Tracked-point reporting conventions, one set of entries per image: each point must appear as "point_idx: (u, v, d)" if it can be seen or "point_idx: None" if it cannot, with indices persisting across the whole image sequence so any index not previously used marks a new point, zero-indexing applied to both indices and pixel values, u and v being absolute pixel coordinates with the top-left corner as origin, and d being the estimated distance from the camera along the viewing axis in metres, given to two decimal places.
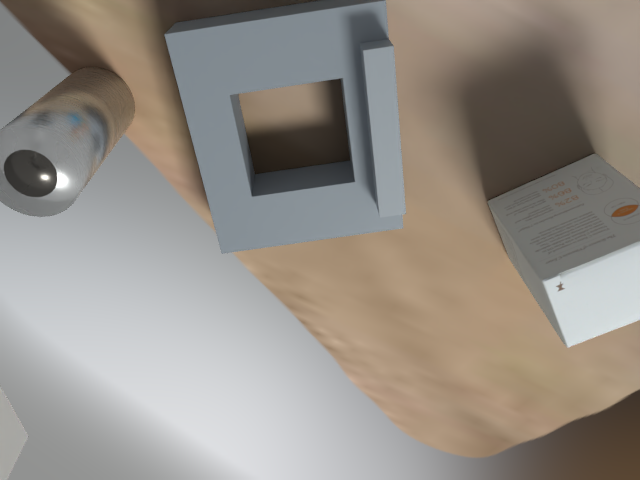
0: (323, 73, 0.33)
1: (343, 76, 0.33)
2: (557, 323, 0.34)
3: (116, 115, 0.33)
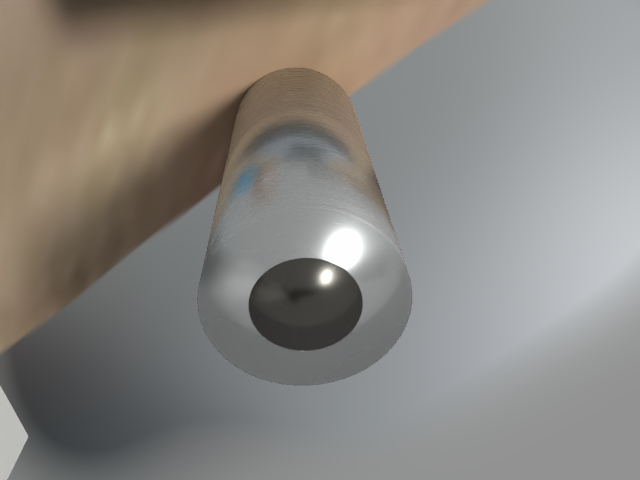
0: None
1: None
2: None
3: (282, 101, 0.17)
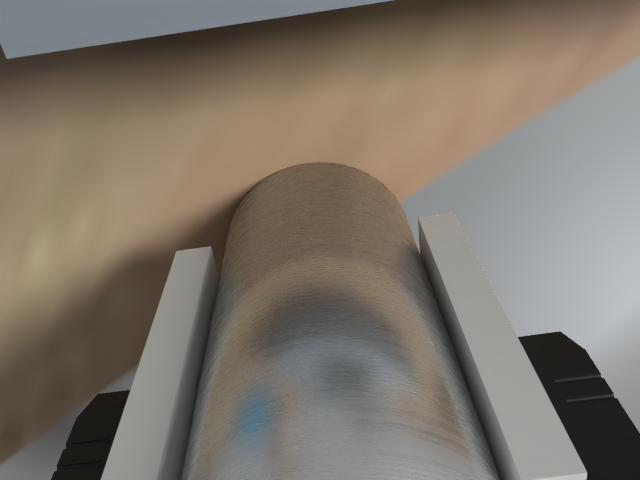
0: None
1: None
2: None
3: (303, 251, 0.10)
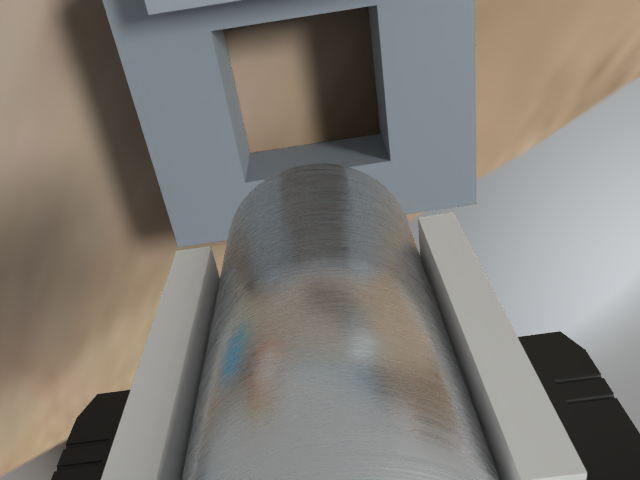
0: (206, 59, 0.23)
1: (207, 29, 0.23)
2: None
3: (303, 252, 0.10)
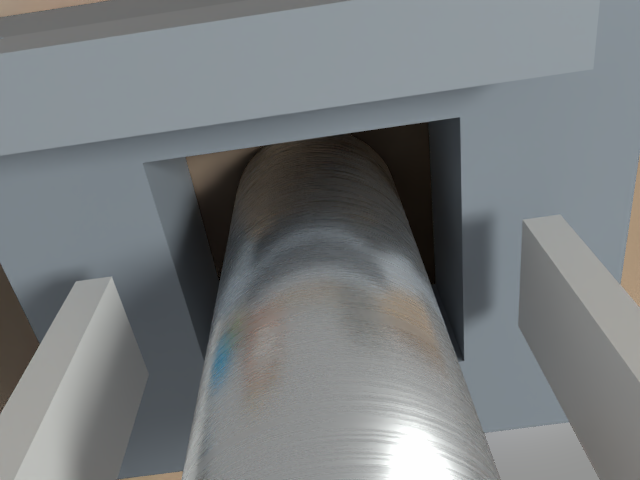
0: (137, 210, 0.13)
1: (136, 159, 0.12)
2: None
3: (302, 193, 0.12)
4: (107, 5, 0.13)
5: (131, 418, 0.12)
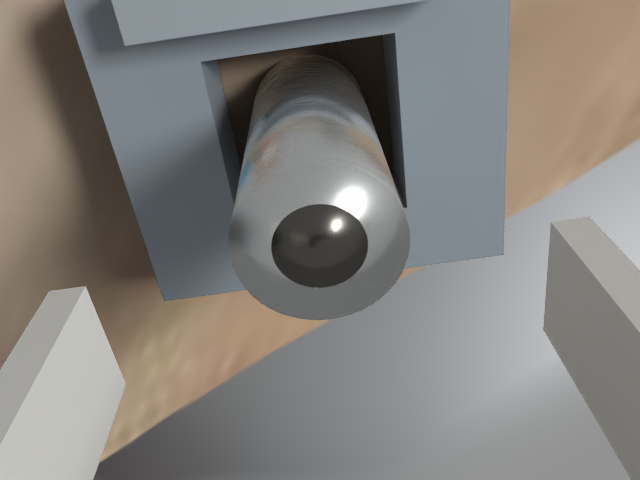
0: (195, 94, 0.20)
1: (196, 59, 0.19)
2: None
3: (298, 81, 0.20)
4: None
5: (105, 430, 0.12)
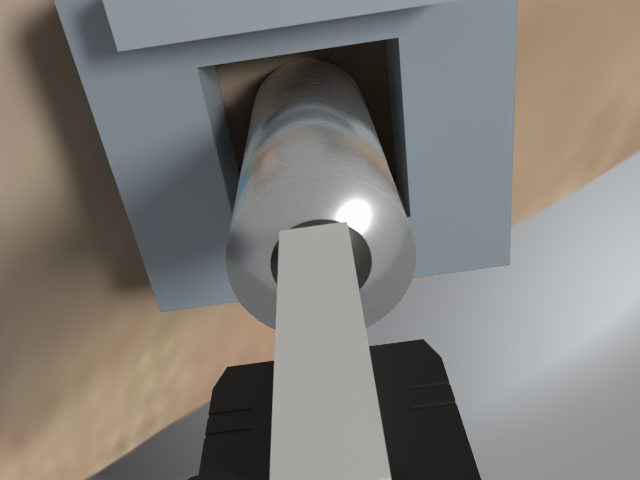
0: (192, 101, 0.19)
1: (193, 65, 0.19)
2: None
3: (298, 87, 0.19)
4: None
5: None
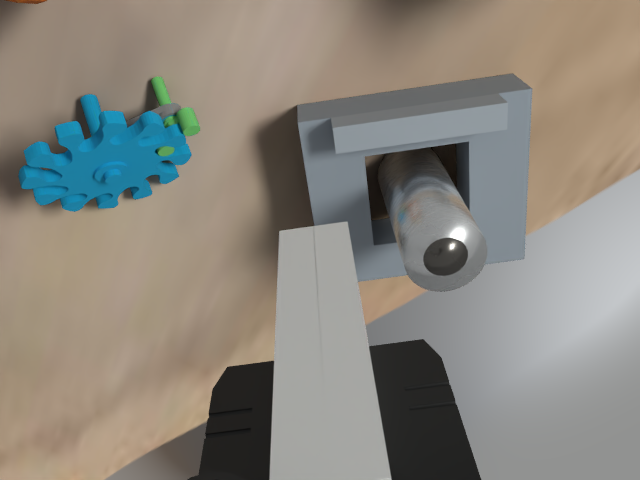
0: (359, 172, 0.37)
1: (362, 155, 0.36)
2: None
3: (416, 166, 0.37)
4: (347, 102, 0.37)
5: None
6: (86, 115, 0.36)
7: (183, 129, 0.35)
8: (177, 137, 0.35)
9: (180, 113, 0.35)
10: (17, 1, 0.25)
